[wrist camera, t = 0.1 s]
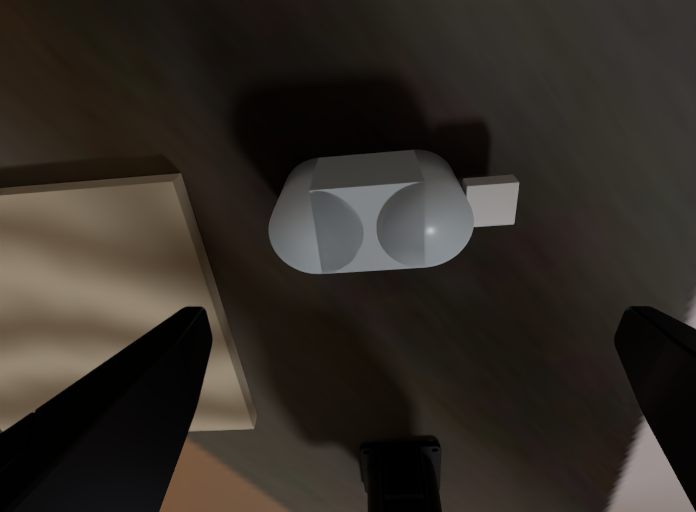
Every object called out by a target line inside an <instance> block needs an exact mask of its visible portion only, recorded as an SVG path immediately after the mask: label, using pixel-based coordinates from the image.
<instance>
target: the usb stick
mask: <svg viewBox="0 0 696 512" xmlns="http://www.w3.org/2000/svg"><path fill="white" fill-rule="evenodd" d="M518 189H519V181H518V180H517V179H516V178H515V177H514V175H503V176H490V177H477V178H464V179H463V187H462V188H461V186H460V184H459V182H458V180H457V178H456V176H455V174H454V173H453V171H452V169H451V167H450V165H449V164H448V163H447V162H446V161H445V160H444V159H443V158H442V157H440V156H439V155H437V154H435V153H433V152H430V151H426V150H406V151H394V152H382V153H370V154H358V155H346V156H334V157H322V158H314V159H310V160H307V161H304V162H302V163H301V164H299V165H298V166H296V167H295V168H294V169H293V170H292V171H291V173H290V174H289V176H288V177H287V180H286V182H285V184H284V187H283V189H282V191H281V194H280V196H279V199H278V201H277V204H276V206H275V208H274V211H273V213H272V216H271V219H270V222H269V238H270V241H271V244H272V246H273V248H274V250H275V252H276V253H277V254H278V256H279V257H280V258H281V259H282V260H283V261H284V262H285V263H287V264H288V265H290V266H291V267H293V268H295V269H297V270H300V271H303V272H306V273H312V274H328V273H344V272H360V271H376V270H391V269H407V268H423V267H432V266H436V265H439V264H442V263H444V262H446V261H448V260H450V259H452V258H453V257H455V256H456V255H457V254H458V253H459V252H460V251H461V250H462V249H463V248H464V247H465V246H466V244H467V243H468V241H469V239H470V237H471V235H472V231H473V227H481V226H495V225H509V224H514V222H515V213H516V205H517V197H518Z"/></svg>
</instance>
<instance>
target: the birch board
mask: <svg viewBox="0 0 696 512" xmlns="http://www.w3.org/2000/svg"><path fill="white" fill-rule="evenodd" d="M186 306H202V307H204V308H205V310H206V312H207V316H208V320H209V323H210V327H211V331H212V336H213V342H212V348H211V352H210V356H209V361H208V365H207V369H206V373H205V377H204V381H203V385H202V390H201V394H200V398H199V402H198V405H197V409H196V412H195V415H194V418H193V421H192V423H191V426H190V429H189V431H210V430H238V429H254V426H255V422H256V418H257V413H256V410H255V407H254V404H253V401H252V397H251V394H250V391H249V388H248V385H247V381H246V378H245V375H244V372H243V369H242V366H241V362H240V359H239V356H238V353H237V350H236V346H235V343H234V340H233V337H232V334H231V331H230V327H229V324H228V321H227V318H226V315H225V311H224V308H223V305H222V302H221V299H220V296H219V292H218V289H217V286H216V283H215V280H214V276H213V273H212V270H211V267H210V264H209V261H208V257H207V254H206V251H205V248H204V245H203V241H202V238H201V235H200V232H199V229H198V226H197V222H196V219H195V216H194V213H193V210H192V206H191V203H190V200H189V197H188V194H187V191H186V187H185V184H184V181H183V178H182V175H181V173H177V174H165V175H153V176H141V177H129V178H117V179H105V180H93V181H80V182H68V183H56V184H44V185H32V186H20V187H8V188H0V429H1V430H2V431H5V430H6V429H8V428H9V427H11V426H12V425H14V424H15V423H16V422H18V421H19V420H21V419H22V418H24V417H25V416H27V415H28V414H29V413H31V412H34V413H35V410H36V409H37V408H38V407H40V406H41V405H43V404H44V403H46V402H47V401H48V400H50V399H51V398H53V397H54V396H56V395H57V394H59V393H60V392H62V391H63V390H64V389H66V388H67V387H69V386H70V385H72V384H73V383H75V382H76V381H78V380H79V379H80V378H82V377H83V376H85V375H86V374H88V373H89V372H91V371H92V370H93V369H95V368H96V367H98V366H99V365H101V364H102V363H104V362H105V361H107V360H108V359H109V358H111V357H112V356H114V355H115V354H117V353H118V352H120V351H121V350H122V349H124V348H125V347H127V346H128V345H130V344H131V343H133V342H134V341H135V340H137V339H138V338H140V337H141V336H143V335H144V334H146V333H147V332H149V331H150V330H151V329H153V328H154V327H156V326H157V325H159V324H160V323H162V322H163V321H164V320H166V319H167V318H169V317H170V316H172V315H173V314H175V313H176V312H177V311H179V310H180V309H182V308H184V307H186Z"/></svg>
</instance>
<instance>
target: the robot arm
mask: <svg viewBox="0 0 696 512" xmlns="http://www.w3.org/2000/svg"><path fill="white" fill-rule="evenodd" d="M212 342H213V336H212V331H211V327H210V323H209V320H208V316H207V312H206V310H205V308H204V307H202V306H186V307H184V308H182V309H180V310H179V311H177V312H176V313H175V314H173V315H172V316H170V317H169V318H167V319H166V320H164V321H163V322H162V323H160V324H159V325H157V326H156V327H154V328H153V329H151V330H150V331H149V332H147V333H146V334H144V335H143V336H141V337H140V338H138V339H137V340H135V341H134V342H133V343H131V344H130V345H128V346H127V347H125V348H124V349H122V350H121V351H120V352H118V353H117V354H115V355H114V356H112V357H111V358H109V359H108V360H107V361H105V362H104V363H102V364H101V365H99V366H98V367H96V368H95V369H93V370H92V371H91V372H89V373H88V374H86V375H85V376H83V377H82V378H80V379H79V380H78V381H76V382H75V383H73V384H72V385H70V386H69V387H67V388H66V389H64V390H63V391H62V392H60V393H59V394H57V395H56V396H54V397H53V398H51V399H50V400H48V401H47V402H46V403H44V404H43V405H41V406H40V407H38V408H37V409H36V410H35V413H34V412H31V413H29V414H28V415H27V416H25V417H24V418H22V419H21V420H19V421H18V422H16V423H15V424H14V425H12V426H11V427H9V428H8V429H6V430H5V431H3V432H2V433H0V512H159V510H160V508H161V505H162V502H163V500H164V497H165V494H166V491H167V489H168V486H169V483H170V480H171V477H172V475H173V472H174V469H175V467H176V464H177V461H178V459H179V456H180V453H181V450H182V447H183V445H184V442H185V440H186V437H187V434H188V431H189V429H190V426H191V423H192V421H193V418H194V415H195V412H196V409H197V405H198V402H199V398H200V394H201V390H202V385H203V381H204V377H205V373H206V369H207V365H208V361H209V356H210V352H211V348H212ZM614 343H615V347H616V350H617V352H618V355H619V357H620V360H621V362H622V365H623V367H624V369H625V372H626V374H627V377H628V379H629V382H630V384H631V387H632V389H633V391H634V394H635V396H636V399H637V401H638V403H639V406H640V408H641V410H642V412H643V414H644V416H645V418H646V420H647V422H648V424H649V426H650V428H651V430H652V432H653V433H654V435H655V437H656V439H657V441H658V443H659V444H660V446H661V448H662V450H663V452H664V454H665V455H666V457H667V459H668V461H669V463H670V465H671V467H672V469H673V470H674V472H675V474H676V476H677V478H678V480H679V481H680V483H681V485H682V487H683V489H684V491H685V493H686V494H687V497H688V498H689V500H690V502H691V504H692V506H693V508H694V509H695V511H696V329H695V328H693V327H691V326H689V325H687V324H685V323H683V322H681V321H679V320H677V319H675V318H673V317H671V316H669V315H667V314H665V313H663V312H661V311H659V310H657V309H655V308H653V307H650V306H630V307H628V308H627V309H626V310H625V311H624V314H623V316H622V319H621V321H620V324H619V326H618V329H617V331H616V333H615V338H614ZM360 456H361V464H362V472H363V479H364V487H365V492H366V493H368V512H442V508H441V502H440V495H439V490H440V468H441V447H440V444H439V443H438V442H415V443H384V444H363V445H361V446H360Z"/></svg>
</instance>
